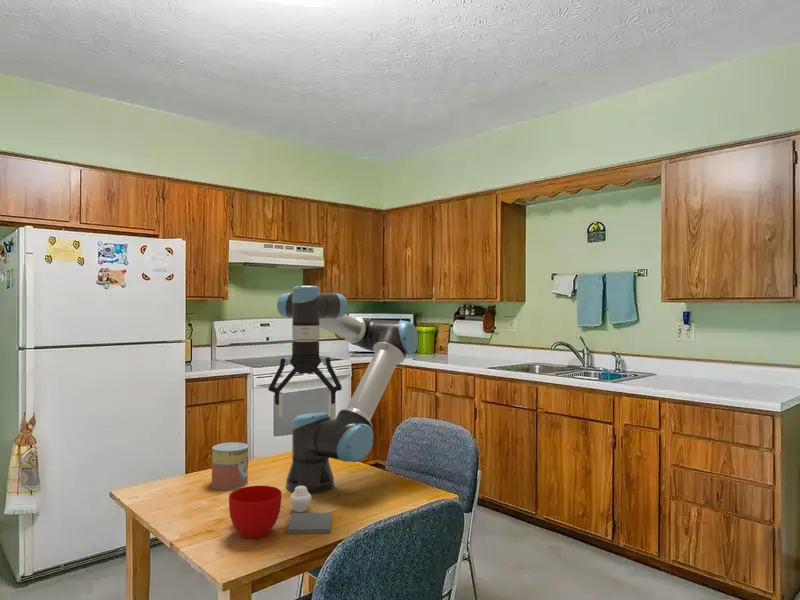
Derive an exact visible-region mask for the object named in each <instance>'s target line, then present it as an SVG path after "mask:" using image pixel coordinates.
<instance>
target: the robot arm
mask: <svg viewBox="0 0 800 600" xmlns="http://www.w3.org/2000/svg"><path fill="white" fill-rule="evenodd" d="M276 303H277V304H276V308H277V312H278V314H279V315H280V316H282V317H284V318H289V319H290V318H292V324H291V325H292V326H291V328H292V331H291V333H292V337H291V339H292V340H293V341H292V343H291V346H292V347H291V352H292V353H291V358H288V357H287V358H286V357H284V356H283V357H282V358H281V359H280V363H279V367H278V369H277V370H276V373H275V375H274V377H273V379H272V380H271V382H270V384H269V386H268V388H267V390H268V391H269V392H272V393H274V405H276V406H278V418H282V417H283V416H284V414H283V410H284V408H283V407H284V405H283V402H284V401H283V400H284V399H283V397H284V394H283V393H284V392H283V391H282V390H283V389H284V387H286V385H287V384H288V383H289V382H290V380H291V379H292V378H293V377H294V376H295V374H300V375H303V374H308V375H312V374H313V373H314V374H315V375H316V376H317V377H318V378H319V379H320V380H321V382H322V383H323V384H324V385H325V386H326V387H327V389H328V390H329V391H328V397H327V398H328V399H327V400H328V408H327V409H328V411H327V412H326V411H325V412H321V411H320V412H319V411H318V412H311V413H305V414H300V415H299V414H298V415H297V416H296V417H294V419H293V422H292V423H293V424H292V447H291V449H292V450H291V451H292V454H291V455H292V459H291V465H290V467H289V470H288V473H287V476H286V480H285V481H286V482H285V483H286V485H285V487H286V490H288V491H289V492H290V491H291V492H292V493H293V492H294V491H295V490H294V489H295V488H296V487H297V486H305V487H306V488H307V491H308V493H310V494H316V493H323V492H326V491H329V490H330V489H332V488H333V487H334V485H335V482H334V481H335V480H334V479H335V478H334V474H333V471H332V467H331V464H330V460H329V459H334V460H339V461H341V462H342V461H343V462H348V463H349V462H350V463H351V462H352V463H357V462H360V461H362V460H363V459H365V458H366V457H367V456H368V455H369V453H370V452H371V450H372V447H373V444H374V441H373V440H374V432H373V429H372V428H373V424H372V422H371V420H372V418H373V415H374V413H375V411H376V409H377V407H378V405H379V402H380V401H381V399H382V397H383V395H384V393H385V391H386V388H387V386H388V384H389V382H390V380H391V378H392V377H393V374H394V371H395V369H396V367H397V365H400V364H403V362H404V361H405V358H406V356H407V355H413V354H415V353H416V351H417V350H418V346H419V336H418V335H419V334H418V330H417V328H416V326H415V324H414V323H413V322H411V321H408V320H401V319H400V320H389V319H388V320H387V319H386V320H385V319H366V318H361V317H359V316H355V317H354V316H353V317H352V316H350V315H348V314H346V313H347V311H348V304H349V303H348V300H347V298H346V297H345V296H344V295H343V294H341V293H337V292H321V291H320V287H319V286H318V285H295V286H294V287H293V289H292V292H288V293H283V294H281V295H280V296H279V297H278V299H277V302H276ZM320 329H322V330H325V331H328V332H330V333H333V334H335V335H337V336H340V337H342V338H344V340H345V341H346V342H347V343H349V344H352V345H354V346H357V347H359V348H361V349H364V350H367V351H370V352H374V354H373V356H372V358H371V360H370V362H369V364H368V366H367V368H366V369H365V372H364V373H363V375H362V377H361V379H360V381H359V383H358V385H357V387H356V389H355V391H354V393H353V395H352V396H351V398H350V401H349V403H348V405H347V407H346V408H343V409H341V410H339V412H338V413H337V416H336V417H335V419H332V418H331V417H332V404H333V405H335V404H336V392H338V391H342V389H343V387H342V384H341V382H340V380H339V378H338V376H337V374H336V372H335V370H334V369H333V368H334V367H333V366H332V364H331V363H332V362H331V358H330V357H329V356H327V357H324V358H323V357H322V358H321V356H320V341H319V339H320ZM289 364H290V365H291V366H292V367H293V368H292V369H291V371H290V372H289V373H287V376H286V377H284V379H283V380H282V381H281V382H280V384H278V386H277V387H276V385H277V382H278V381H279V379H280V377H281V375H282V373H283V371H284V369H285V367H287V366H288V365H289ZM320 364H322V365H323V366H325V367H326V368H327V371H328V373H329V375H330V377H331V379H332V380H333V383H334V385H333V384H332V383H331V382H330V381H329V379H328V378H327V376H325V375H324V373H323V372H322V371H321V369H320V368H319V366H320Z"/></svg>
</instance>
